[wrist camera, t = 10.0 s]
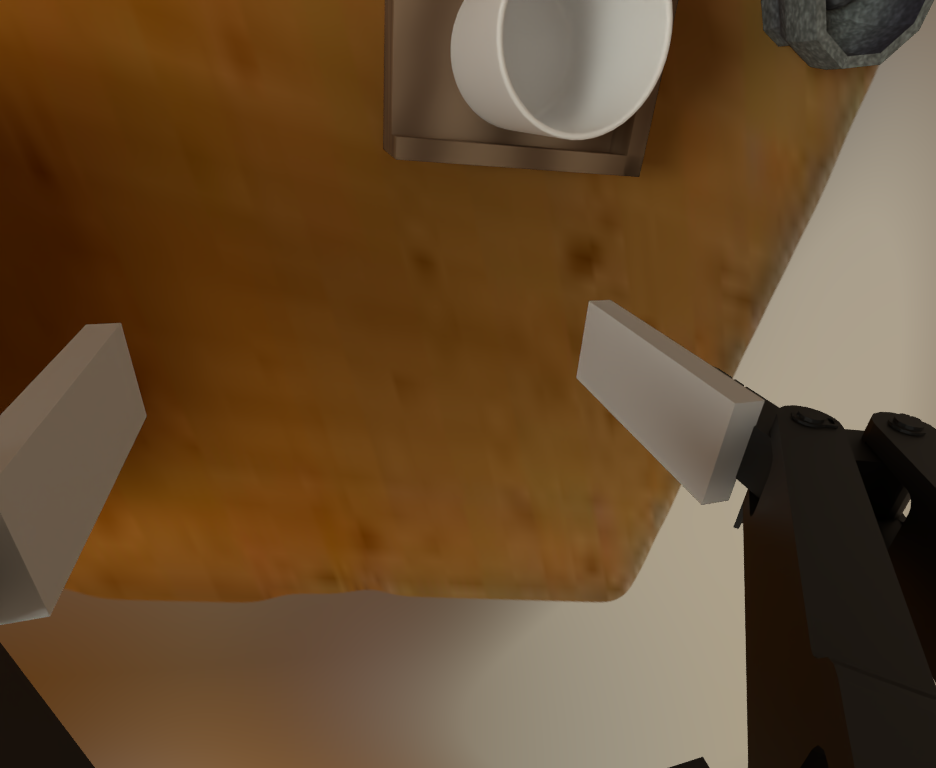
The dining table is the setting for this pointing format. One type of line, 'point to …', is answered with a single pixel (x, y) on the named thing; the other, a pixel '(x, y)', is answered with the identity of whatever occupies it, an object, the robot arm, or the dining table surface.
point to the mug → (559, 62)
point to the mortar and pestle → (843, 29)
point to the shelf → (458, 127)
